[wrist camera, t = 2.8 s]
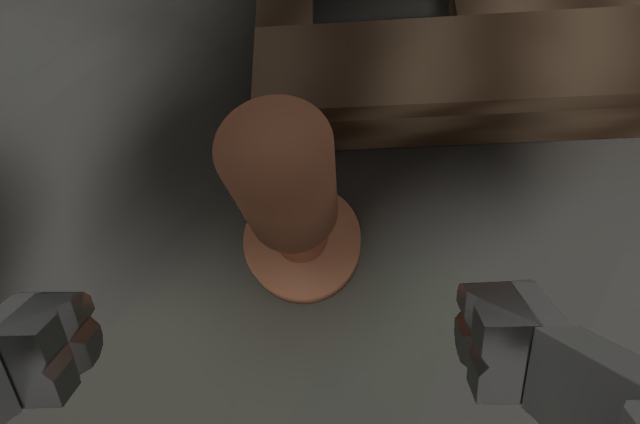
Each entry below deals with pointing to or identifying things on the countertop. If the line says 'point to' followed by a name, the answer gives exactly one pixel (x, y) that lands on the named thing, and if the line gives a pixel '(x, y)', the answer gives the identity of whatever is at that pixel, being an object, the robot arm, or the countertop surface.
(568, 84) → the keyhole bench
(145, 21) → the countertop surface
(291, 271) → the peg
